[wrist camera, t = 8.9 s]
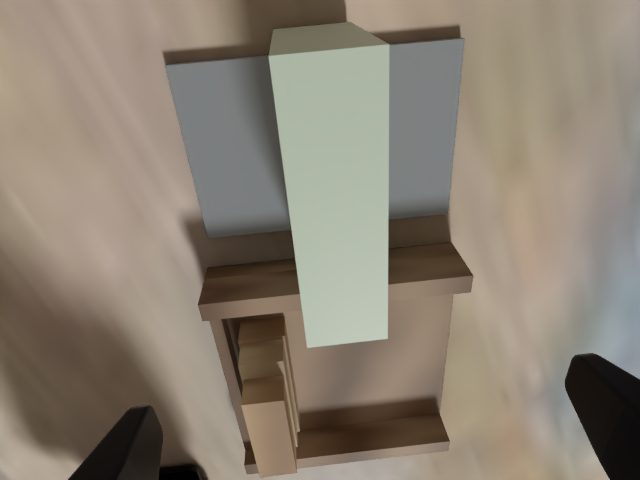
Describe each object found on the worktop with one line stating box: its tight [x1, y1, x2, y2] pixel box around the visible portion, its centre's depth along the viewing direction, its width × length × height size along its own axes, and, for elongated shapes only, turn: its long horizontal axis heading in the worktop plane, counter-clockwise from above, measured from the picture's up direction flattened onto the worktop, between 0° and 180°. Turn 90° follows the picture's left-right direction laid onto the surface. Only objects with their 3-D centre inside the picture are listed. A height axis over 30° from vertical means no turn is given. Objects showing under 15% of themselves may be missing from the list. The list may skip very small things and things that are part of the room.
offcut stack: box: [238, 316, 300, 477], centre depth 23 cm, size 2×8×4 cm, turn 4°
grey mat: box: [165, 38, 465, 238], centre depth 19 cm, size 12×8×1 cm, turn 94°
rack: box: [198, 243, 473, 474], centre depth 25 cm, size 13×14×3 cm
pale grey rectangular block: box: [269, 22, 389, 348], centre depth 16 cm, size 3×10×7 cm, turn 4°
